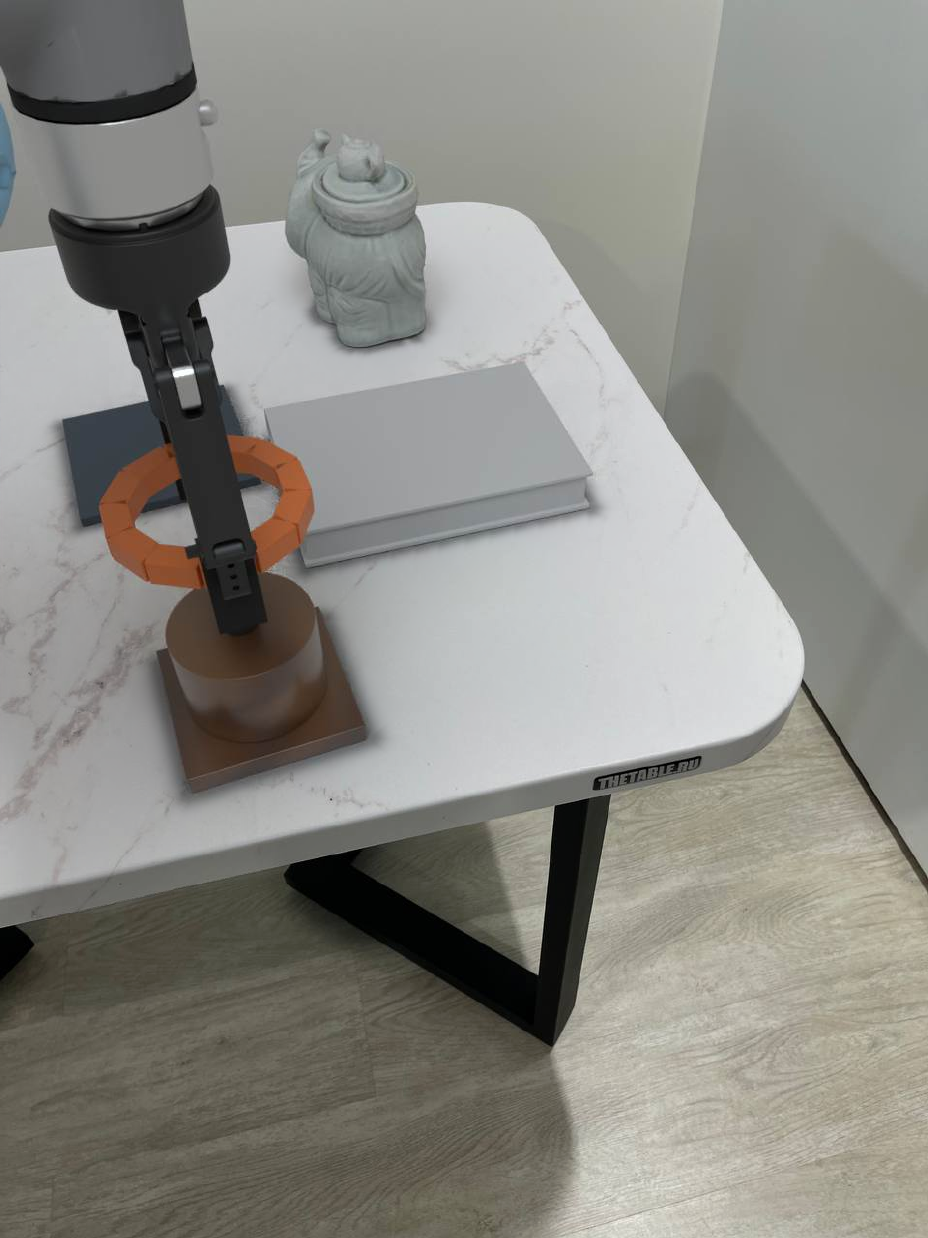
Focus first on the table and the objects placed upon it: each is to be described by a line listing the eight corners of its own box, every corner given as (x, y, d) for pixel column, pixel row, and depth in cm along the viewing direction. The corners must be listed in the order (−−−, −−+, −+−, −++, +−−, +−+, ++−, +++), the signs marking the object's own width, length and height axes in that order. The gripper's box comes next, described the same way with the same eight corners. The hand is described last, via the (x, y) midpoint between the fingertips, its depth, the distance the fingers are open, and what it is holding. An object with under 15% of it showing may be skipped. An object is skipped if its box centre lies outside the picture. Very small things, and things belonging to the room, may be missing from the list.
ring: (123, 610, 53) (115, 589, 52) (96, 481, 61) (89, 460, 60) (335, 556, 56) (332, 534, 55) (284, 439, 64) (281, 418, 63)
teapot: (315, 269, 113) (292, 89, 100) (448, 278, 111) (443, 96, 98) (272, 348, 102) (239, 159, 88) (419, 360, 100) (408, 168, 87)
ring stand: (191, 794, 66) (144, 669, 57) (160, 664, 73) (114, 535, 64) (368, 739, 68) (350, 611, 59) (320, 619, 76) (298, 490, 67)
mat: (83, 526, 84) (80, 519, 83) (64, 426, 93) (61, 419, 93) (261, 483, 87) (259, 476, 87) (225, 391, 97) (223, 384, 96)
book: (593, 472, 82) (299, 532, 77) (589, 508, 85) (305, 568, 80) (519, 353, 94) (261, 400, 89) (518, 389, 97) (268, 435, 92)
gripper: (279, 305, 38) (336, 679, 54) (170, 90, 53) (239, 429, 69) (74, 345, 36) (195, 719, 52) (23, 110, 52) (128, 454, 67)
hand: (220, 554), depth 61 cm, fingers closed on ring, 12 cm apart
